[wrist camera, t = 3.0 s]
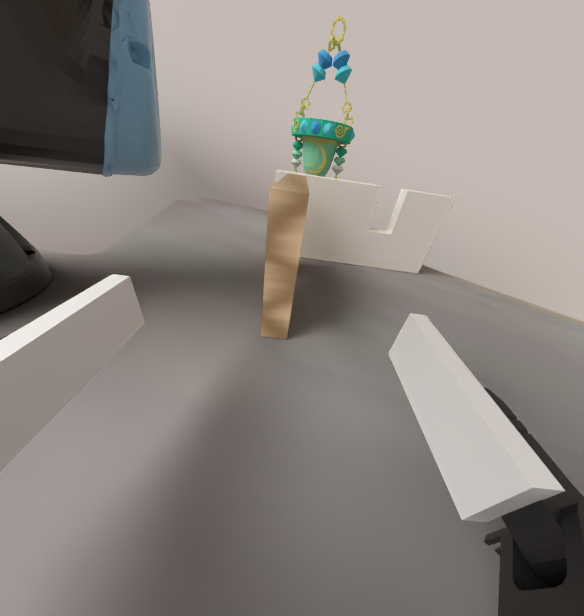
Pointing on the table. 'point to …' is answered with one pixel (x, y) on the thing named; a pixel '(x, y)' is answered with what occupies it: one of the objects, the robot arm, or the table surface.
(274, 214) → the tan faceted tapered block
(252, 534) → the table surface
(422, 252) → the cream slotted board
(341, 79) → the hanging basket ornament
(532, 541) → the robot arm
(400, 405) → the table surface
